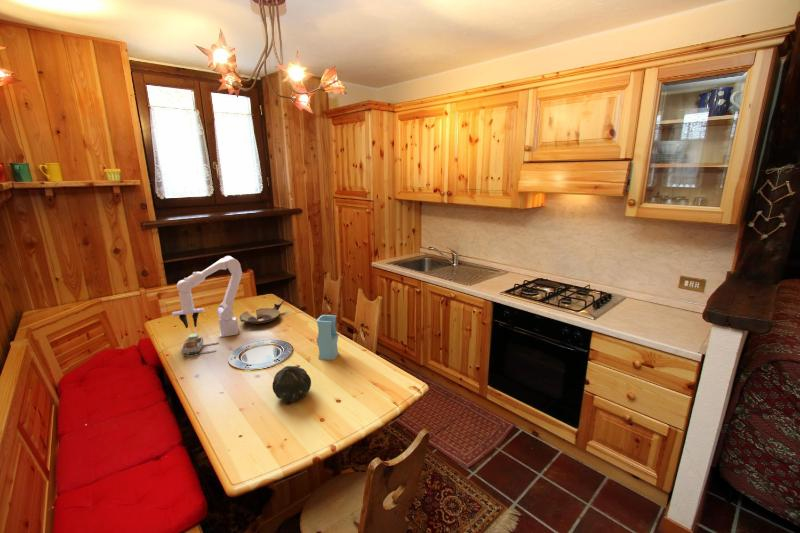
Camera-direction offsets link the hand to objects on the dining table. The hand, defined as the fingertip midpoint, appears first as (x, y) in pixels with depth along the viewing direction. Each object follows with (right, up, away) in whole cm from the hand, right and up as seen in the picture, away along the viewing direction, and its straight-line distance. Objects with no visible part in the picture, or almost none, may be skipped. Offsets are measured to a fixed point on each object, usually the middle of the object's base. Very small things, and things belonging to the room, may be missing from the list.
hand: (191, 326), depth 193 cm
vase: (+76, -12, -13) cm, 78 cm away
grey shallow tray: (+5, -11, -6) cm, 14 cm away
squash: (+67, -21, -44) cm, 83 cm away
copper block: (+6, -9, -9) cm, 14 cm away
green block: (0, -9, +3) cm, 10 cm away
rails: (+8, -11, -5) cm, 15 cm away
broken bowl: (+28, -1, +30) cm, 41 cm away
